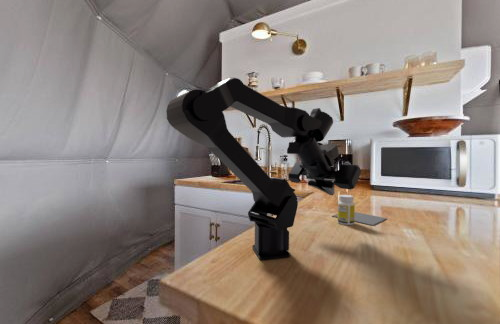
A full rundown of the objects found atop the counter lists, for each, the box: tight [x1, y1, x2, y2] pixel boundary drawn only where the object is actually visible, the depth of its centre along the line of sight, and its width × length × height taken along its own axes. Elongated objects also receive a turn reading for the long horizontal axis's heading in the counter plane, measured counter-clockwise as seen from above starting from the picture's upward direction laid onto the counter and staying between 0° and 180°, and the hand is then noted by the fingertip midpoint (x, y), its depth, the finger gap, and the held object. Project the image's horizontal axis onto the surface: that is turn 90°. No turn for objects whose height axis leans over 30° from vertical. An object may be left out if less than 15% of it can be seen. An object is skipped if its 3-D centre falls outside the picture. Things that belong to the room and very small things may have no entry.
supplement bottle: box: [337, 194, 356, 226], centre depth 70 cm, size 5×5×8 cm
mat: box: [331, 211, 387, 227], centre depth 76 cm, size 11×13×1 cm
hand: (332, 194), depth 65 cm, fingers closed
